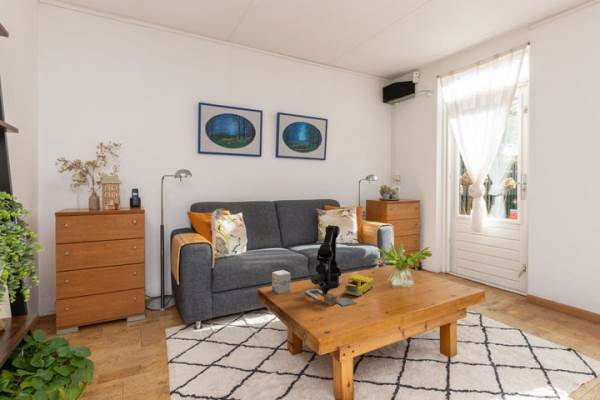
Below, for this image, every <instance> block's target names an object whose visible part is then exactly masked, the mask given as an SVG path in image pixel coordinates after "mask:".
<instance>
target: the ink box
mask: <svg viewBox="0 0 600 400" xmlns="http://www.w3.org/2000/svg"><path fill="white" fill-rule="evenodd" d="M291 274H292V273H291V272H288V271H286V270H285V269H282V270H276V271H272V273H271V284H272V285H271V291H272V292H274V293H277V294H279V295H282V294H285V293H289V292H291V285H292V284H291V278H292V276H291Z"/></svg>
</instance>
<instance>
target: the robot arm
mask: <svg viewBox="0 0 600 400" xmlns="http://www.w3.org/2000/svg"><path fill="white" fill-rule="evenodd" d="M340 232H341V227H339V226H338V225H333V224H332V225H331V224H329V225H327V226H325V232H324V233H325V235H324V237H323V242H322V244H321V245H320V246H319V248H318V250H317V255H316V261H318V264H317V265H316V266H315V271H316V273H317V274H313V276H310V281H311V284H313V285H315V286H316V285H318V286H319V287H320V291H322V293H323V295H322V296H323V297H324V294H327V293H329V290H334V289H338V288H339V286H341V284H340V283H339V282H340V277H342V270H341V267H340V263H339V261H338V259H337V238H338V237H339V235H340Z"/></svg>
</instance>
